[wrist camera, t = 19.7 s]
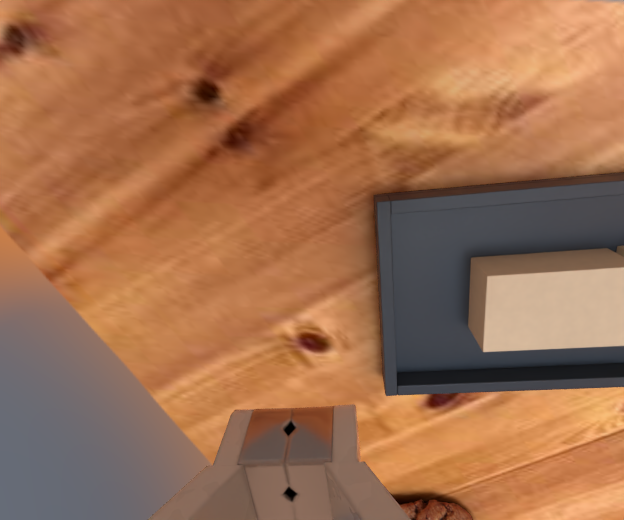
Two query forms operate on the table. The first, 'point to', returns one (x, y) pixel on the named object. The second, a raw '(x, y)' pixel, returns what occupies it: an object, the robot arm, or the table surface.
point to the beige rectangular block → (547, 300)
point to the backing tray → (456, 280)
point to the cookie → (435, 511)
